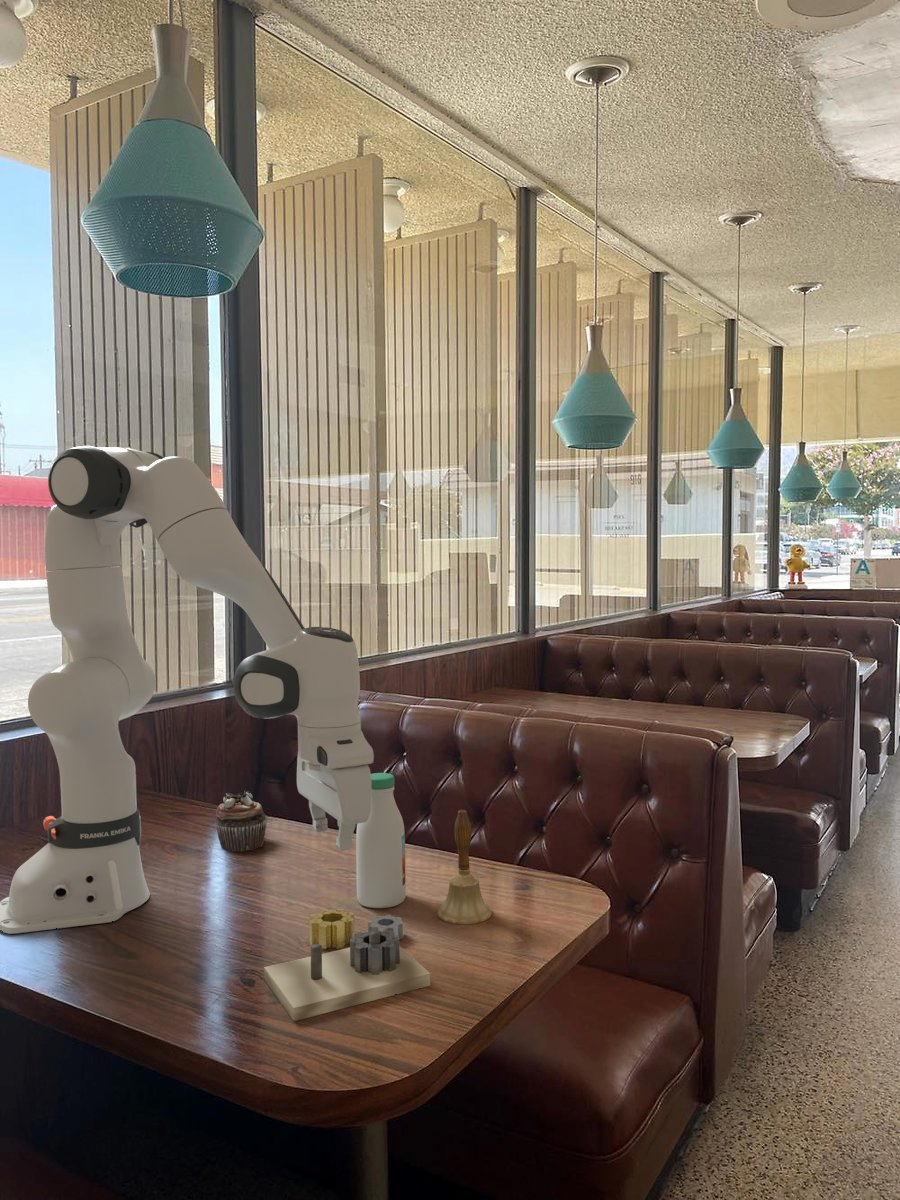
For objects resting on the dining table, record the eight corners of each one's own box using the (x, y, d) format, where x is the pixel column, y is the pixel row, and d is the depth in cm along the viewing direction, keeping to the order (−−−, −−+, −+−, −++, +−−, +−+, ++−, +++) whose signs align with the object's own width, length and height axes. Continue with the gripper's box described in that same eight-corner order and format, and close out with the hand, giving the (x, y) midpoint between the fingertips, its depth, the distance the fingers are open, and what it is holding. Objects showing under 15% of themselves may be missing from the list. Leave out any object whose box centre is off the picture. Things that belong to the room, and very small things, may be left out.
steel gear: (375, 979, 113) (375, 954, 113) (340, 965, 117) (339, 941, 117) (409, 961, 118) (409, 937, 118) (374, 948, 122) (374, 925, 122)
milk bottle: (398, 911, 138) (397, 782, 137) (350, 907, 140) (348, 780, 139) (410, 892, 146) (409, 770, 145) (365, 889, 147) (363, 768, 146)
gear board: (293, 1021, 106) (292, 974, 106) (264, 979, 117) (263, 936, 116) (430, 985, 115) (429, 942, 114) (391, 949, 125) (390, 909, 125)
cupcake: (224, 856, 164) (223, 802, 164) (210, 842, 173) (208, 790, 172) (274, 847, 169) (274, 794, 168) (258, 833, 177) (257, 783, 177)
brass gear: (318, 953, 124) (318, 930, 124) (303, 935, 130) (303, 914, 130) (361, 943, 127) (361, 921, 127) (345, 926, 133) (344, 905, 133)
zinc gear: (381, 947, 126) (380, 932, 125) (361, 936, 130) (361, 921, 129) (410, 938, 129) (410, 923, 129) (390, 926, 133) (390, 912, 132)
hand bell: (474, 929, 132) (473, 821, 131) (426, 917, 136) (425, 813, 135) (501, 909, 139) (501, 807, 138) (455, 899, 143) (455, 800, 142)
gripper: (285, 732, 135) (287, 823, 135) (334, 759, 117) (336, 864, 117) (325, 728, 138) (327, 817, 138) (379, 753, 120) (381, 856, 120)
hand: (331, 839), depth 128 cm, fingers open, 8 cm apart
